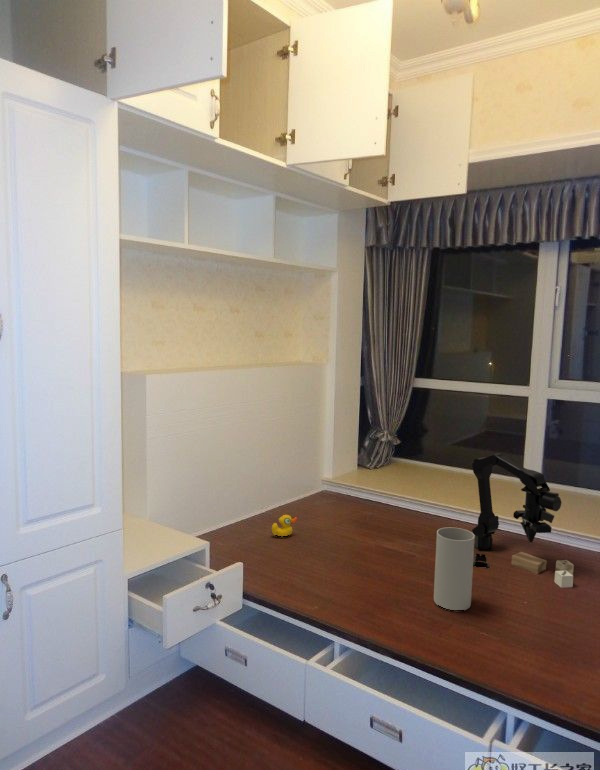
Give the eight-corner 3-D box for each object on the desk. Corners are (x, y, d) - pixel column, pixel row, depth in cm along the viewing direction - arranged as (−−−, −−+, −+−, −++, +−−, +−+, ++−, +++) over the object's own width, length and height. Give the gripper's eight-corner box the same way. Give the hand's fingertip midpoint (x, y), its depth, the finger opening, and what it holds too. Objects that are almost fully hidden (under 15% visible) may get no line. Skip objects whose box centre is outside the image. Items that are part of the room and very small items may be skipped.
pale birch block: (562, 576, 222) (563, 565, 221) (555, 571, 226) (556, 560, 226) (572, 576, 223) (573, 564, 222) (566, 571, 227) (566, 559, 226)
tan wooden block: (537, 574, 223) (537, 565, 223) (511, 565, 232) (511, 555, 231) (546, 570, 228) (546, 560, 227) (520, 560, 236) (521, 551, 236)
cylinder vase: (464, 616, 190) (468, 543, 187) (428, 605, 196) (431, 535, 194) (474, 600, 200) (478, 532, 198) (440, 591, 207) (443, 524, 204)
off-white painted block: (561, 587, 212) (562, 575, 212) (554, 582, 217) (555, 570, 216) (572, 587, 213) (573, 575, 212) (565, 581, 217) (566, 570, 217)
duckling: (295, 533, 260) (295, 512, 259) (297, 538, 255) (298, 516, 254) (270, 535, 258) (270, 513, 257) (272, 539, 253) (272, 517, 252)
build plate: (495, 564, 233) (496, 553, 232) (497, 572, 226) (497, 561, 225) (463, 560, 236) (464, 550, 235) (464, 568, 229) (465, 557, 228)
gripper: (565, 511, 219) (562, 550, 220) (539, 496, 237) (536, 532, 239) (538, 512, 217) (535, 551, 219) (513, 497, 236) (511, 533, 237)
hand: (530, 542), depth 229 cm, fingers closed
